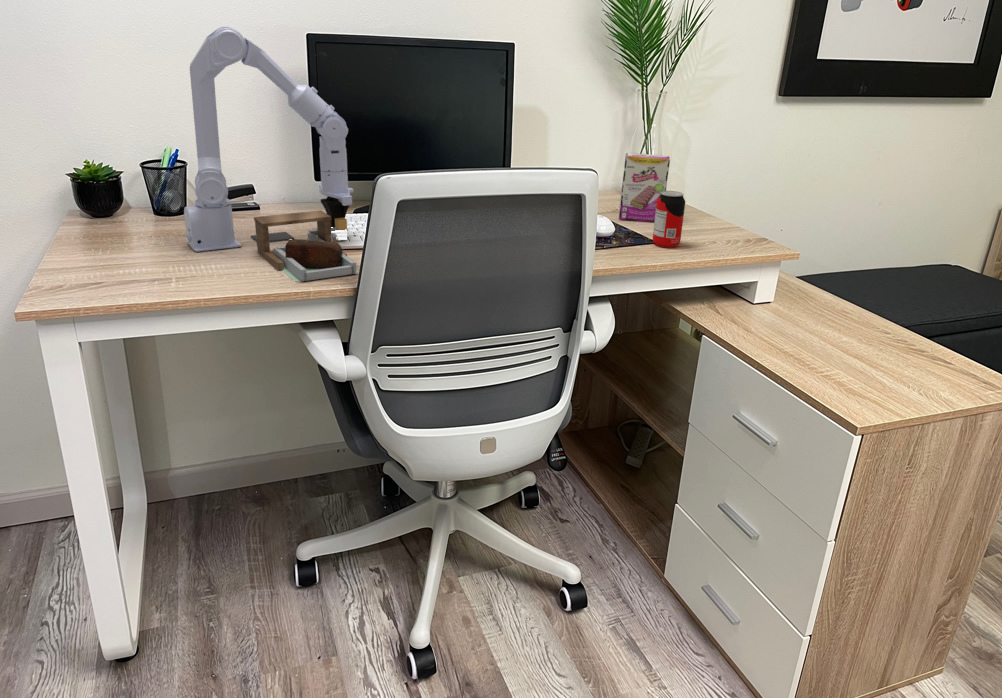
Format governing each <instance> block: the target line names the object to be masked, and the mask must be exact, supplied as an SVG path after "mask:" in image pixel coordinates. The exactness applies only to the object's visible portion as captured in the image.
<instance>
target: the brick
mask: <svg viewBox="0 0 1002 698" xmlns="http://www.w3.org/2000/svg"><path fill="white" fill-rule="evenodd" d="M284 246H285V248H286V258H292V259H294V260H295V261H296V262H297V263H299V264H300V265H301V266H302V267H321V268H334V267H339V265H340V264H341V256H342V254H343V252H344V251H343V249H342V246H341V245H340V244H339V242H337V241H332V242H327V241H310V240H308V239H296V238H294V239H292V240H287V242H286V243H285V245H284ZM342 251H343V252H342Z"/></svg>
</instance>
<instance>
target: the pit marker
mask: <svg viewBox="0 0 1002 698" xmlns="http://www.w3.org/2000/svg"><path fill="white" fill-rule="evenodd" d="M250 238H251V239H252V238H253V239H252V240H253V241H255V242H256V243H257V239H256V234H254V235H253V234H252V235H250ZM288 239H295V237H293V236H292V235H291V234H289V233H288V232H287V231H280V232H271V233H270V232H269V243H275V242H276V243H277V242H282V240H285V241H289V240H288Z"/></svg>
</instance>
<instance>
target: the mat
mask: <svg viewBox="0 0 1002 698" xmlns="http://www.w3.org/2000/svg"><path fill="white" fill-rule="evenodd" d="M339 267H341V266H340V265H339ZM304 268H305V269H306V271H313V270H320V269H327V268H321V267H304ZM281 271H282V272H283V273H284V274H285V275H286V274H287V277H288V278H290V279H291V280H292V281H293V282H295V283H297V282H298V281H299V282H302V281H301V280H300V279H298V278H297V277H296V276H295V275H294V274H292V273H291V272H290V271H289V270H288V269H287V268H285V267H284V270H281ZM358 271H359V270H357V273H356V274H358Z"/></svg>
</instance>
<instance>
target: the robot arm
mask: <svg viewBox="0 0 1002 698" xmlns="http://www.w3.org/2000/svg"><path fill="white" fill-rule="evenodd" d="M239 61H241V63H242V64H243V65H244V66H249V67H250V68H251V67H252V68H255V69H258V70H259V71H260V72H261V73H262V74H263V75H264V76H266V77H267V78H268V79H269V80H270V81H271V82H272V83H274V85H276V87H277V88H279V89H280V90H282V91H283V93H285V94H286V95H287V100H288V101H287V104H288V106H289V107H290V108H291V109H292V110H293V111H295V113H297V114H298V115H299V117H301V119H303V120H304V121H305V122H306V123H307V124H308V125H309V126H311V128H312V127H313V128H315V130H316V132H317V134H319V135H321V136H319V148H318V149H319V166H320V182H321V183H319V184H318V188H319V190H318V191H319V193H320V194H321V195H323V196H325V197H326V198H321V199H320V203H321V204H322V206H323V209H324V210H325V213H326V214H328V215H329V216H331V220H330V221H331V227H335V218H345V219H346V215H347V212H348V210H349V208H350V206H353V196H352V195H351V194H352V193H354V189H353V188H352V187H349V179H348V178H349V177H348V157H347V156H348V153H347V147H346V145H347V141H346V138H347V135H348V133H349V128H348V126H347V122H346V121H345V119H344V118H343V117H342V116H340V115H339V114H338V112H336V111H335V107H334V106H333V105H332V104H330V105H329V104H328V103H327V102H326V101H324V99H323V98H321V97H320V96H319V95H318V92H319V91H318V90H317V89H316V88H315V87H314V86H311V87H310V86H309V85H308V84H297V83H296V81H295V80H293V78H291V77H290V75H288V73H286V71H285V70H283V68H282V67H281V66H279V64H278V63H277V62H275V61H274V59H272V57H270V55H268V54H267V52H265V51H264V50H263V49H262V48H261V47H259V46H258V45H257V44H255V43H254V42H252V41H251V40H249V39H248V38H247V37H244V36H243V35H242V34H241V32H239V31H238V30H236V29H235V28H232V27H231V26H230V27H229V26H221V27H220V26H219V27H218V28H216V30H214V31H212V32H211V33H210V34H209V35H207V36H206V37H205V39H204V41H203V43H202V44H201V46H200V47H199V49H198V50H197V52H196V54H195V56H194V57H193V59H192V60H191V62H190V64H189V77H190V87H191V88H190V89H191V96H192V97H191V101H192V110H193V111H192V113H193V121H194V133H195V143H196V145H195V146H196V157H197V167H198V171H197V173H196V176H195V177H194V178H195V179H194V186H195V189H194V191H195V196H196V199H195V200H194V204H193V205H189V206H185V207H184V208H183V209H184V210H183V215H184V223H185V224H184V225H185V231H186V243H187V244H188V246H189V247H190V248H191V249H192V250H193V251H194V252H196V253H198V252H206V251H214V250H222V249H231V248H240V247H242V244H241V243H240V242H239V241H238V240H237V239H236V238H235V237H236V236H235V230H234V229H235V228H234V220H233V209H232V200H231V199H229V198H228V195H229V187H228V185H227V180H226V177H225V175H224V174H223V172H222V163H221V162H222V161H221V151H220V150H221V149H220V148H221V147H220V137H219V126H218V125H219V124H218V113H217V112H218V110H217V101H216V100H217V97H216V96H217V95H216V85H215V78H216V77H217V76H218V75H219V74H220V73H222V71H223V70H224V69H225V68H226V67H229V66H232V65H234V64H235V63H238V62H239Z"/></svg>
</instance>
